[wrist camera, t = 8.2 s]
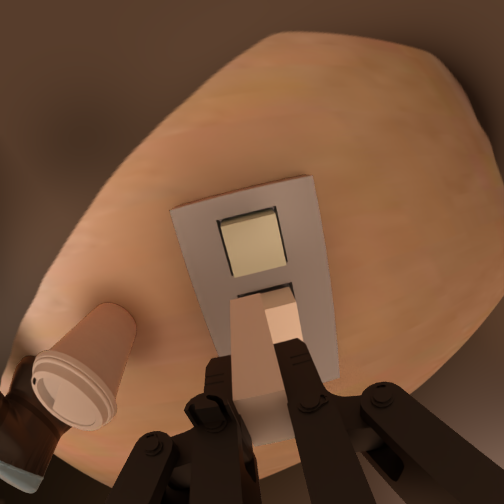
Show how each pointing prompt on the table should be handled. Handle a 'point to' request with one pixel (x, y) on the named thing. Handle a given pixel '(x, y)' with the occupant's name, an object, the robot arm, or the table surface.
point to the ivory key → (282, 315)
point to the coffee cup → (86, 368)
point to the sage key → (253, 242)
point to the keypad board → (291, 275)
